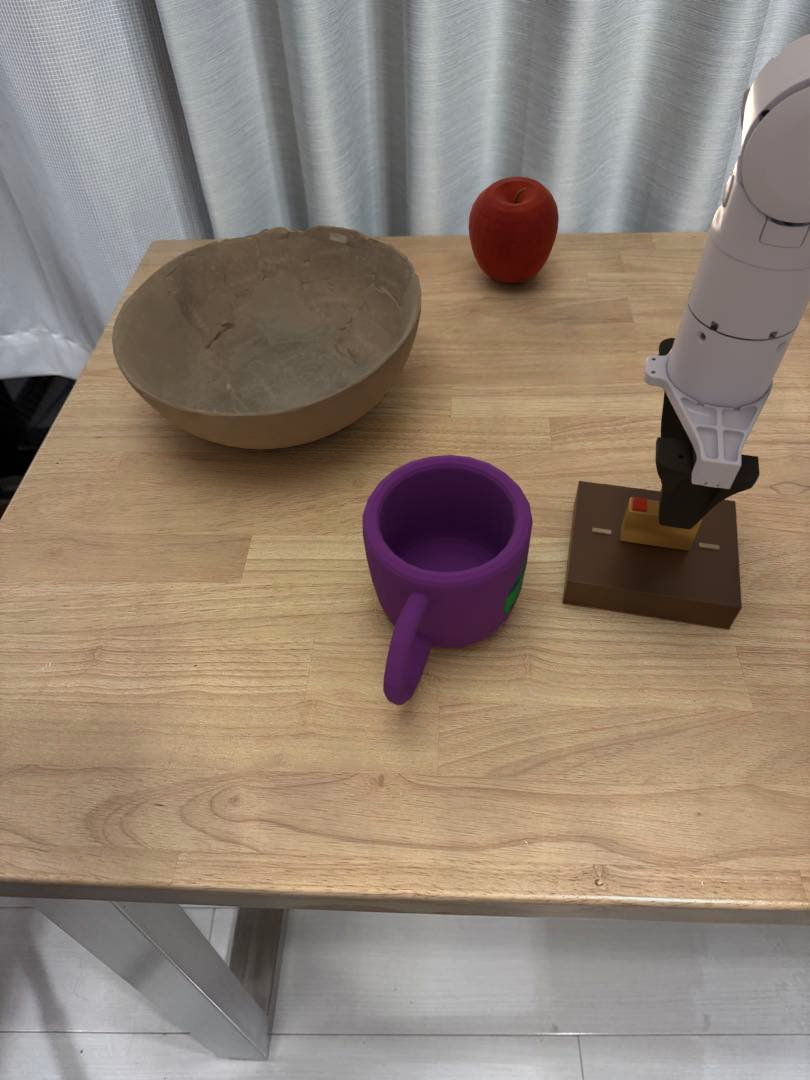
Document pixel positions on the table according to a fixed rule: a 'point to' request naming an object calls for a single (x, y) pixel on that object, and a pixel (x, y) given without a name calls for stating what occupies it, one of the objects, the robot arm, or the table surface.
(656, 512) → the block with red patch
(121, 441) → the table surface
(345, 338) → the bowl
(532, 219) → the apple
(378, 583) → the mug
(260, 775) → the table surface
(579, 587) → the lock plate
